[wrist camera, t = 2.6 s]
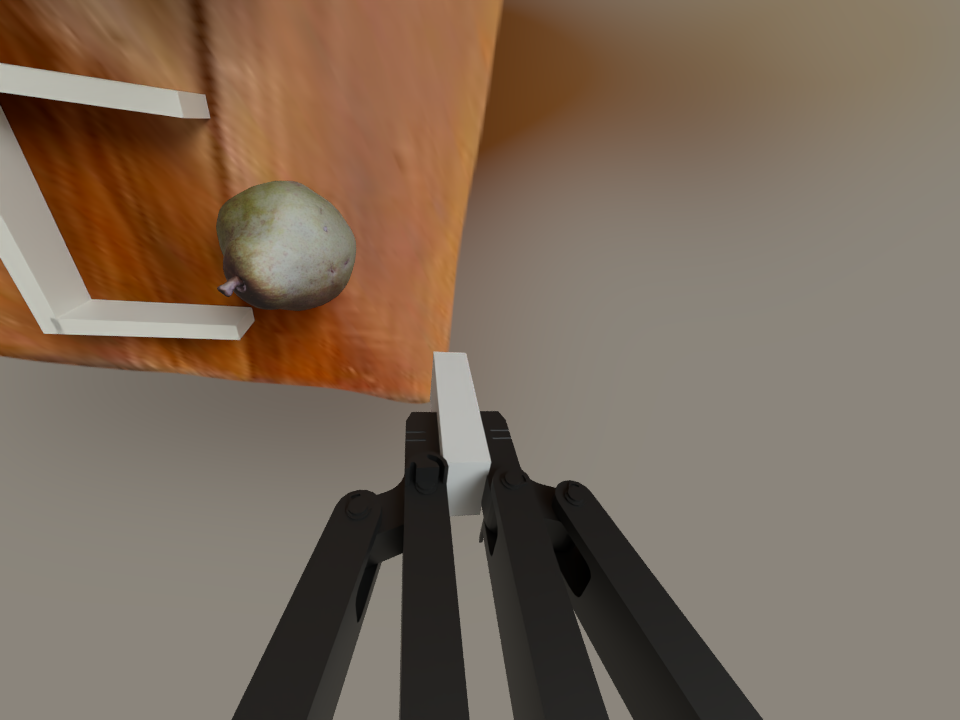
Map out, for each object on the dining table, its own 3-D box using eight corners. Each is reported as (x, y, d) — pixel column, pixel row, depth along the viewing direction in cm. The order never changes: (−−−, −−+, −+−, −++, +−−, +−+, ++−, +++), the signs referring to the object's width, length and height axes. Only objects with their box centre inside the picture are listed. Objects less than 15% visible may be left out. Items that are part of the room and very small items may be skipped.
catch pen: (79, 313, 34) (43, 333, 31) (-50, 55, 24) (-123, 44, 21) (254, 320, 37) (239, 339, 34) (205, 94, 27) (177, 91, 24)
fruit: (221, 222, 32) (137, 267, 22) (290, 144, 30) (230, 156, 20) (319, 301, 37) (286, 366, 27) (383, 240, 35) (373, 286, 25)
